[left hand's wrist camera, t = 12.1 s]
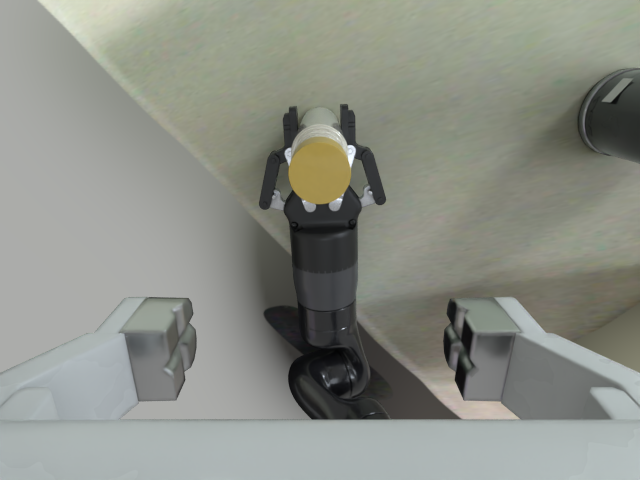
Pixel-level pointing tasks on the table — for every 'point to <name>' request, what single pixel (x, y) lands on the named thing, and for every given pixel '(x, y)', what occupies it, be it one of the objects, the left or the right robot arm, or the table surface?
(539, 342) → the left robot arm
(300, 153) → the cap
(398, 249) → the table surface
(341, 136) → the bottle
